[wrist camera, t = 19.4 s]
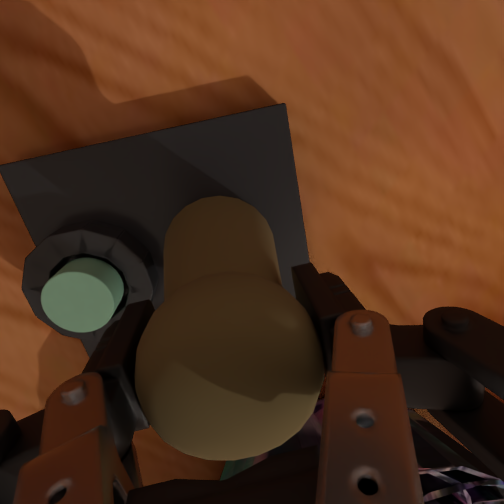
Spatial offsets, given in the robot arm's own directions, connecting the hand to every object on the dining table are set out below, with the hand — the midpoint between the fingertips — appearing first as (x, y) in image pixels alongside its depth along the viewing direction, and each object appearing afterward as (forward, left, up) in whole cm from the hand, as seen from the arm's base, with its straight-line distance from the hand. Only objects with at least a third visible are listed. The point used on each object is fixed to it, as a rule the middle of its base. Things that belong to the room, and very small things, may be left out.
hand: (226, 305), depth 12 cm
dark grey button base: (-2, 0, -8) cm, 8 cm away
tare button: (-7, 0, -5) cm, 9 cm away
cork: (0, 0, -7) cm, 7 cm away
